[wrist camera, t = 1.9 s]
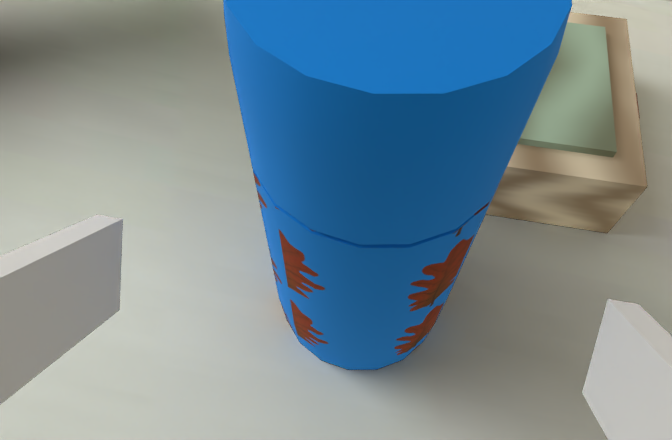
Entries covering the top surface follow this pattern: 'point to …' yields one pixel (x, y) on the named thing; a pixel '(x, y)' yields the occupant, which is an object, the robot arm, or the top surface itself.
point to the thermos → (381, 151)
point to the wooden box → (579, 135)
